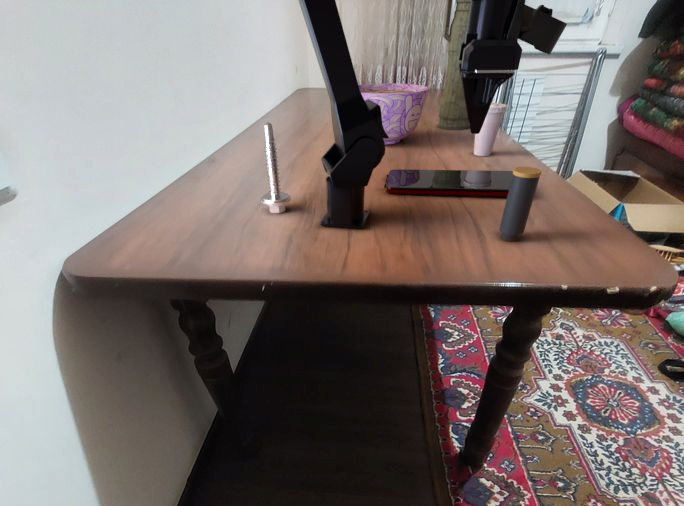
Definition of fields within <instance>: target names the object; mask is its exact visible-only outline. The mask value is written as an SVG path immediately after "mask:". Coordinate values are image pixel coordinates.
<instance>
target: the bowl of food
mask: <svg viewBox="0 0 684 506" xmlns="http://www.w3.org/2000/svg"><path fill="white" fill-rule="evenodd" d="M358 86H359V89H360V92H361V94H362V96H363V98H364V100H365V101H366V100H367V99H370V100H371V101H373V102H375V103H376V104H378V105H380V109H381V115H382V124H383V128H384V130H385V132H386V134H387V135H388V139H385V138H383V139H384V142H385V145H394V144H399V143H400V141H401V140H402V139H406V138H407V137H409V136H411V135H412V134H413V133H414V131H415V130H416V129H417V127H418V125H419V121H420V119H421V115H422V113H423V110H424V106H425V103H426V100H427V97H428V92H429V89H430V88H429V86H425V85H422V84H417V83H416V84H414V83H398V82H395V83H393V82H391V83H389V82H388V83H382V82H381V83H366V84H358Z"/></svg>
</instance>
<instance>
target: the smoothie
mask: <svg viewBox="0 0 684 506" xmlns="http://www.w3.org/2000/svg"><path fill="white" fill-rule="evenodd" d="M507 107H508V105H507V104H505V103H501V102H500V103H499V102H494V99H493V100H492V103H491V105H490V108H489V110H488V113H487V115H486V118H485V120H484V123H483V126H482V128H481V131H480V133H479V134H474V142H473V155H474V156H476V157H477V156H478V157H488V156H491V154H492V151H493V148H494V145H495V142H496V140H497V136H498V133H499V130H500V127H501V124H502V120H503V117H504V114H505V113H506V112H507V109H508V108H507Z"/></svg>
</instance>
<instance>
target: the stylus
mask: <svg viewBox="0 0 684 506" xmlns="http://www.w3.org/2000/svg"><path fill="white" fill-rule="evenodd" d="M512 171H513V175H512V180H511V184H510V188H509V192H508V196H506V200H505V204H504V208H503V212H502V217H501V219H500V220H501V221H500V224H499V229H498V230H499V232H500V239H501V240H503V241H506V242H517V241H518V240H519V239H520V236H522V235H523V234H524V233H525V230H526V227H527V222H528V218H529V216H530V213H531V208H532V205H533V201H534V198H535V195H536V191H537V187H538V184H539V181H540V177H541V176H542V170H541V169H539V168H537V167H534V166H533V167H531V166H518V167H517V166H516V167H514V168H513V170H512Z"/></svg>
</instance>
